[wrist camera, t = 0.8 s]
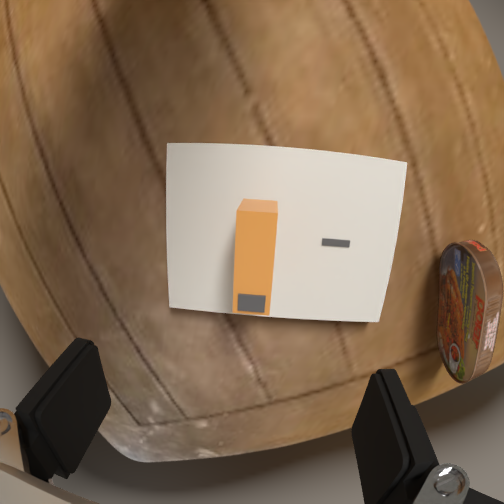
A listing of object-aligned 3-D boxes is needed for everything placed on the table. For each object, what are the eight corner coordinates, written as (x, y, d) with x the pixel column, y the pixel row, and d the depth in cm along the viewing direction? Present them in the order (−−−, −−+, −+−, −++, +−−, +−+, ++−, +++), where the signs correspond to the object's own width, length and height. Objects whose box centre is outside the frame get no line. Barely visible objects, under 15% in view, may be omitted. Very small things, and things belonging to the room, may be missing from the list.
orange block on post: (243, 198, 24) (236, 210, 19) (277, 200, 24) (278, 213, 19) (239, 285, 26) (232, 313, 22) (270, 287, 26) (269, 316, 22)
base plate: (174, 143, 27) (158, 143, 23) (398, 161, 26) (416, 164, 22) (175, 297, 32) (163, 317, 28) (373, 312, 31) (384, 333, 27)
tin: (438, 232, 28) (483, 262, 20) (463, 227, 27) (511, 254, 19) (433, 354, 32) (461, 400, 24) (455, 347, 32) (486, 391, 24)
